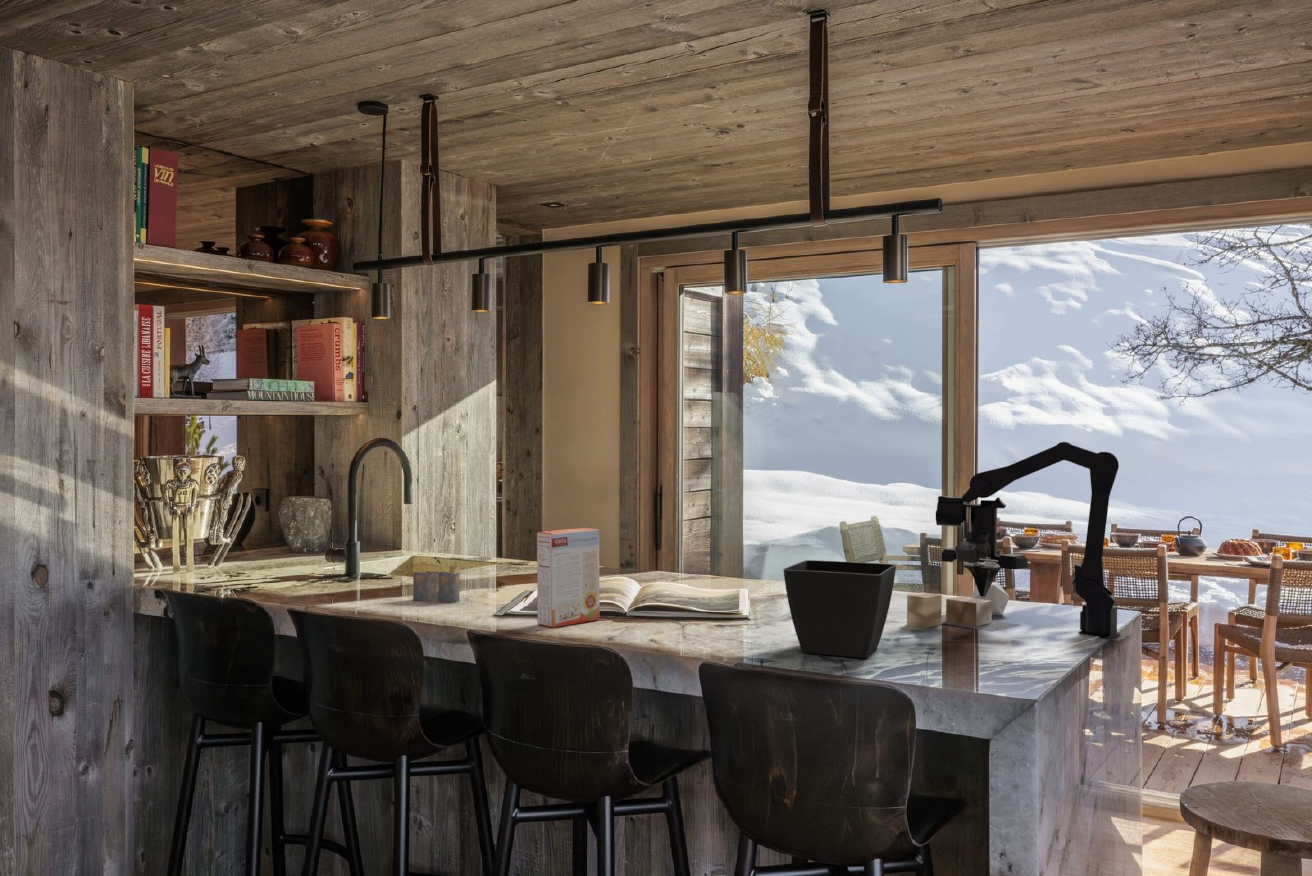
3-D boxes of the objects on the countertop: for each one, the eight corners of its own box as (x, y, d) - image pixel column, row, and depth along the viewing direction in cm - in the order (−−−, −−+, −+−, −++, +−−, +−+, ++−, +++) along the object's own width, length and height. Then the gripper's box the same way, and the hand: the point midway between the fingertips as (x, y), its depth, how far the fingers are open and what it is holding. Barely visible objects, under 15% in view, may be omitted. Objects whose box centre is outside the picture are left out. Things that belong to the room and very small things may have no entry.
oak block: (941, 626, 226) (941, 595, 226) (926, 629, 222) (926, 597, 222) (922, 622, 229) (922, 592, 229) (906, 626, 225) (907, 595, 225)
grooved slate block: (460, 602, 253) (460, 564, 253) (455, 604, 250) (455, 565, 250) (418, 600, 256) (418, 562, 256) (413, 602, 253) (413, 564, 253)
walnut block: (991, 600, 228) (960, 596, 234) (977, 603, 224) (946, 598, 230) (991, 622, 228) (960, 617, 234) (977, 625, 224) (946, 620, 230)
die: (1002, 622, 234) (1020, 588, 237) (969, 603, 235) (987, 569, 238) (991, 628, 241) (1008, 595, 244) (959, 609, 243) (976, 576, 246)
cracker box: (583, 617, 233) (584, 526, 233) (600, 620, 229) (601, 528, 228) (535, 624, 223) (535, 530, 223) (552, 628, 219) (553, 532, 219)
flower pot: (805, 637, 212) (806, 557, 212) (896, 645, 205) (897, 563, 204) (781, 655, 194) (781, 568, 194) (879, 665, 187) (880, 575, 187)
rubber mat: (1020, 626, 226) (1020, 624, 226) (992, 632, 218) (992, 631, 218) (950, 614, 240) (950, 613, 240) (921, 620, 232) (921, 619, 232)
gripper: (927, 526, 228) (926, 594, 228) (1002, 533, 214) (1002, 606, 214) (954, 523, 236) (954, 590, 236) (1029, 530, 222) (1028, 600, 222)
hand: (982, 596), depth 227 cm, fingers closed
